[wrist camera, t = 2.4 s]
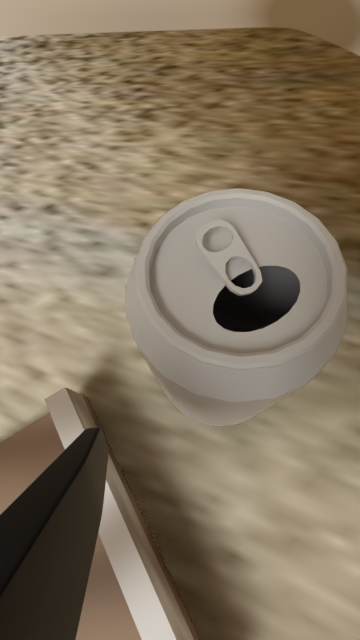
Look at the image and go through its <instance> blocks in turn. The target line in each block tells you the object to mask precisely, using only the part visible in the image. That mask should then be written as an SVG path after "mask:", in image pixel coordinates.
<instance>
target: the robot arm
mask: <svg viewBox="0 0 360 640" xmlns="http://www.w3.org/2000/svg"><path fill="white" fill-rule="evenodd" d="M107 464H108V448H107V444H106V440H105V437H104V433H103V430H102V428H101V427H92V428H87V429H85V430H84V431H83V432H82V433H81V434H80V435H79V436H78V437H77V438H76V439H75V440H74V441H73V442H72V443H71V444H70V445H69V446H68V447H67V448H66V449H65V450H64V451H63V452H62V453H61V454H60V455H59V456H58V457H57V458H56V459H55V460H54V461H53V462H52V463H51V464H50V465H49V466H48V467H47V468H46V469H45V470H44V471H43V472H42V473H41V474H40V475H39V476H38V477H37V478H36V479H35V480H34V481H33V482H32V483H31V484H30V485H29V486H28V487H27V488H26V489H25V490H24V491H23V492H22V493H21V494H20V495H19V496H18V497H17V498H16V499H15V500H14V501H13V502H12V503H11V504H10V505H9V506H8V507H7V508H6V509H5V510H4V511H3V512H2V513H1V514H0V640H76V635H77V631H78V626H79V621H80V617H81V612H82V607H83V602H84V598H85V593H86V588H87V584H88V579H89V574H90V570H91V565H92V560H93V555H94V551H95V546H96V541H97V537H98V532H99V527H100V522H101V517H102V511H103V503H104V493H105V484H106V474H107Z"/></svg>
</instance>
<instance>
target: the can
mask: <svg viewBox="0 0 360 640" xmlns="http://www.w3.org/2000/svg"><path fill="white" fill-rule="evenodd" d="M347 305H348V293H347V267H346V264H345V261H344V259H343V256H342V253H341V251H340V248H339V245H338V242H337V241H336V240H335V238H334V237H333V236H332V235H331V233H330V232H329V231H328V230H327V228H326V227H325V226H324V225H323V224H322V222H321V221H320V220H319V219H318V218H317V217H315V216H314V215H312V214H311V213H309V212H308V211H307V210H305V209H304V208H302V207H301V206H299V205H298V204H297V203H295V202H293V201H290V200H287V199H285V198H282V197H279V196H277V195H274V194H271V193H269V192H264V191H256V190H247V189H239V188H236V189H227V190H218V191H210V192H206V193H204V194H201V195H198V196H196V197H193V198H190V199H188V200H185V201H182V202H181V203H179V204H178V205H177V206H175V207H174V208H172V209H171V210H170V211H168V212H167V213H165V214H164V215H163V216H161V217H160V218H159V219H158V221H157V222H156V223H155V225H154V226H153V227H152V228H151V230H150V231H149V232H148V234H147V235H146V236H145V238H144V239H143V242H142V245H141V248H140V251H139V254H138V256H137V257H136V258H135V260H134V263H133V266H132V269H131V272H130V275H129V278H128V281H127V284H126V318H127V320H128V323H129V326H130V328H131V331H132V333H133V336H134V338H135V341H136V344H137V346H138V348H139V350H140V352H141V353H142V355H143V357H144V358H145V360H146V362H147V364H148V365H149V367H150V369H151V370H152V372H153V374H154V375H155V377H156V379H157V380H158V382H159V384H160V386H161V387H162V389H163V391H164V392H165V394H166V396H167V397H168V398H169V399H170V401H171V402H172V403H173V404H174V405H175V407H176V408H177V409H178V410H179V411H180V412H181V413H183V414H185V415H186V416H188V417H190V418H191V419H193V420H194V421H196V422H199V423H203V424H208V425H212V426H216V427H218V426H228V425H237V424H240V423H242V422H244V421H246V420H248V419H250V418H252V417H255V416H256V415H258V414H259V413H261V412H263V411H264V410H266V409H267V408H269V407H271V406H272V405H274V404H275V403H277V402H278V401H280V400H282V399H283V398H285V397H286V396H288V395H289V394H291V393H293V392H294V391H296V390H297V389H299V388H300V387H302V386H304V385H305V384H307V383H308V382H309V381H310V380H311V379H312V378H313V377H314V376H315V375H316V374H317V373H318V372H319V371H320V370H321V369H322V368H323V367H324V366H325V365H326V364H327V363H328V362H329V361H330V360H331V359H332V358H333V357H334V356H335V353H336V351H337V348H338V346H339V344H340V341H341V339H342V337H343V334H344V332H345V330H346V327H347Z"/></svg>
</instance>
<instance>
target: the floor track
mask: <svg viewBox="0 0 360 640" xmlns="http://www.w3.org/2000/svg"><path fill="white" fill-rule="evenodd" d="M45 402H46V404H47V407H48V409H49V412H50V414H49V415H47V416H46V417H44V418H42V419H41V420H39V421H37V422H36V423H34V424H32V425H30V426H29V427H27V428H25V429H24V430H22V431H20V432H19V433H17V434H15V435H13V436H12V437H10V438H8V439H7V440H5V441H3V442H2V443H0V514H1V513H2V512H3V511H4V510H5V509H6V508H7V507H8V506H9V505H10V504H11V503H12V502H13V501H14V500H15V499H16V498H17V497H18V496H19V495H20V494H21V493H22V492H23V491H24V490H25V489H26V488H27V487H28V486H29V485H30V484H31V483H32V482H33V481H34V480H35V479H36V478H37V477H38V476H39V475H40V474H41V473H42V472H43V471H44V470H45V469H46V468H47V467H48V466H49V465H50V464H51V463H52V462H53V461H54V460H55V459H56V458H57V457H58V456H59V455H60V454H61V453H62V452H63V451H64V450H65V449H66V448H67V447H68V446H69V445H70V444H71V443H72V442H73V441H74V440H75V439H76V438H77V437H78V436H79V435H80V434H81V433H82V432H83V431H84V430H85V429H87V428H92V427H101V426H100V424H99V422H98V420H97V418H96V415H95V413H94V411H93V409H92V407H91V405H90V403H89V400H88V398H87V397H84V396H82V395H80V394H78V393H76V392H74V391H72V390H70V389H68V388H66V387H65V388H63V389H61V390H60V391H58V392H56V393H55V394H53V395H51V396H49V397H48V398H46V399H45ZM104 437H105V435H104ZM105 440H106V444H107V448H108V464H107V474H106V484H105V493H104V503H103V511H102V517H101V522H100V527H99V532H98V537H97V541H96V546H95V551H94V555H93V560H92V565H91V570H90V574H89V579H88V584H87V588H86V593H85V598H84V602H83V607H82V612H81V617H80V621H79V626H78V631H77V635H76V640H200V639H199V637H198V635H197V633H196V630H195V628H194V626H193V624H192V622H191V620H190V618H189V615H188V613H187V611H186V609H185V607H184V605H183V602H182V600H181V598H180V596H179V594H178V592H177V590H176V587H175V585H174V583H173V581H172V579H171V577H170V575H169V572H168V570H167V568H166V566H165V564H164V562H163V559H162V557H161V555H160V553H159V551H158V549H157V547H156V544H155V542H154V540H153V538H152V536H151V534H150V532H149V529H148V527H147V525H146V523H145V521H144V519H143V516H142V514H141V512H140V510H139V508H138V506H137V504H136V501H135V499H134V497H133V495H132V493H131V491H130V489H129V486H128V484H127V482H126V480H125V478H124V476H123V473H122V471H121V469H120V467H119V465H118V463H117V461H116V458H115V456H114V454H113V452H112V450H111V448H110V446H109V443H108V441H107V439H106V437H105Z"/></svg>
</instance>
